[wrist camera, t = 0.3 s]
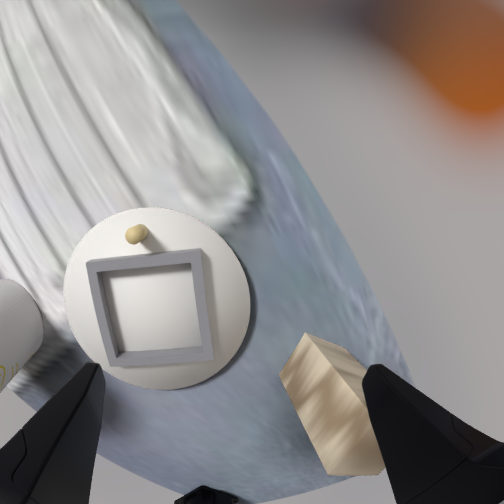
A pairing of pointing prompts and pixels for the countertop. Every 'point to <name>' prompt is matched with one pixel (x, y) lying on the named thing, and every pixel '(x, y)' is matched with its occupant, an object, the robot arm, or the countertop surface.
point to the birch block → (332, 406)
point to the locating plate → (156, 298)
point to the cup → (17, 329)
